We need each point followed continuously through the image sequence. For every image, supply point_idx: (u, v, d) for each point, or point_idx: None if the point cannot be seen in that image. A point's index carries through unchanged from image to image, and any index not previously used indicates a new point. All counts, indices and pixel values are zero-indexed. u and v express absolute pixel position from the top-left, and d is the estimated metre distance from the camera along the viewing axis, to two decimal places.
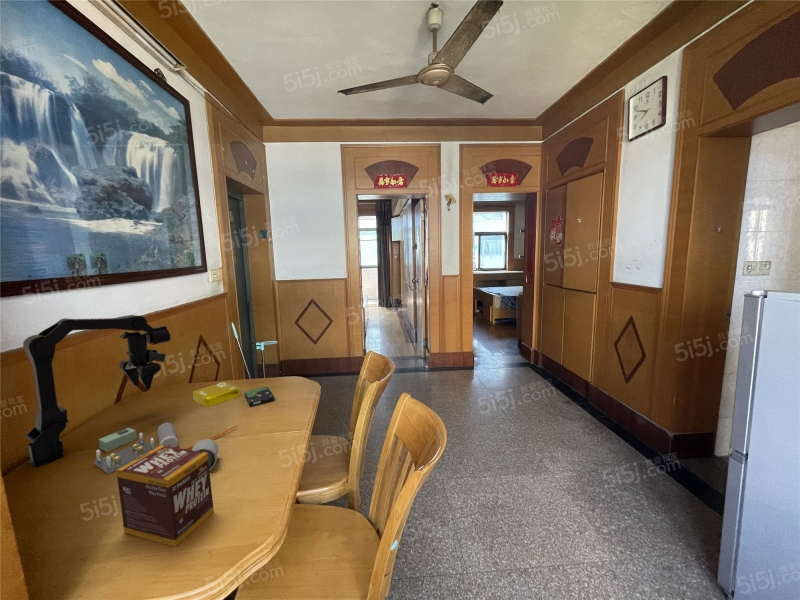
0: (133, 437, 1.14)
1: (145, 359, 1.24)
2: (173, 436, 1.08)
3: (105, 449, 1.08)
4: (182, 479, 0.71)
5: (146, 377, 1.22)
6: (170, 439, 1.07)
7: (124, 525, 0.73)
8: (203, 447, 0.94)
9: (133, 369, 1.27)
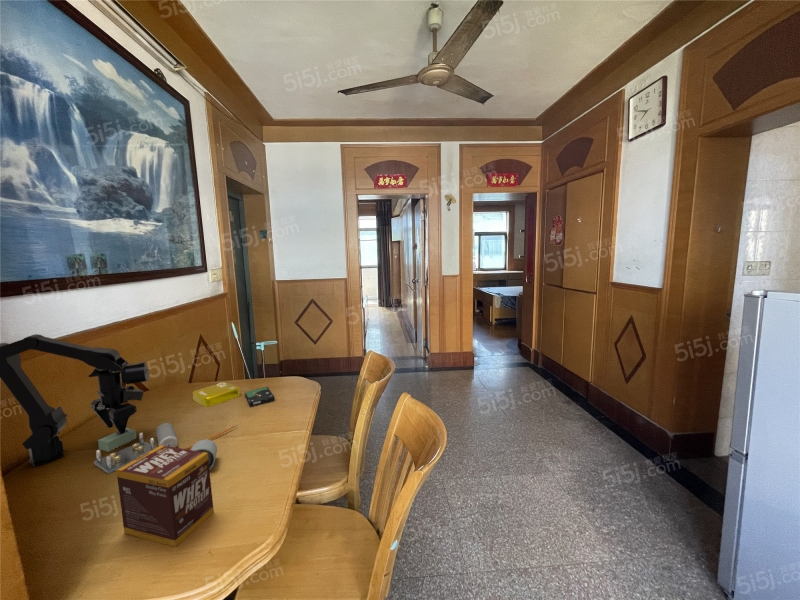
0: (133, 436, 1.14)
1: (118, 399, 1.10)
2: (173, 436, 1.08)
3: (106, 449, 1.08)
4: (182, 479, 0.71)
5: (119, 420, 1.08)
6: (170, 439, 1.07)
7: (124, 525, 0.73)
8: (202, 447, 0.94)
9: (106, 409, 1.13)
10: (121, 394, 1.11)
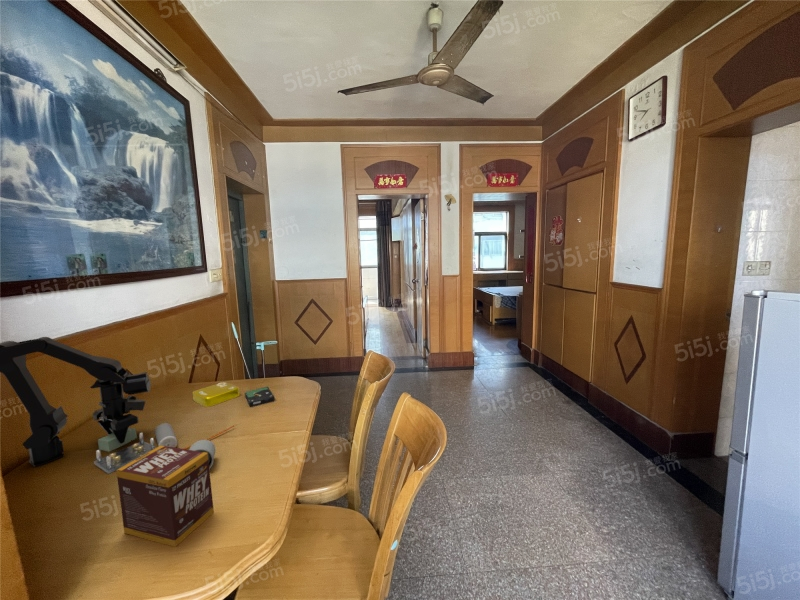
0: (133, 435, 1.14)
1: (120, 410, 1.10)
2: (172, 436, 1.08)
3: (107, 448, 1.08)
4: (182, 479, 0.71)
5: (119, 430, 1.09)
6: (169, 439, 1.07)
7: (124, 525, 0.73)
8: (200, 448, 0.94)
9: (110, 421, 1.13)
10: (123, 405, 1.11)
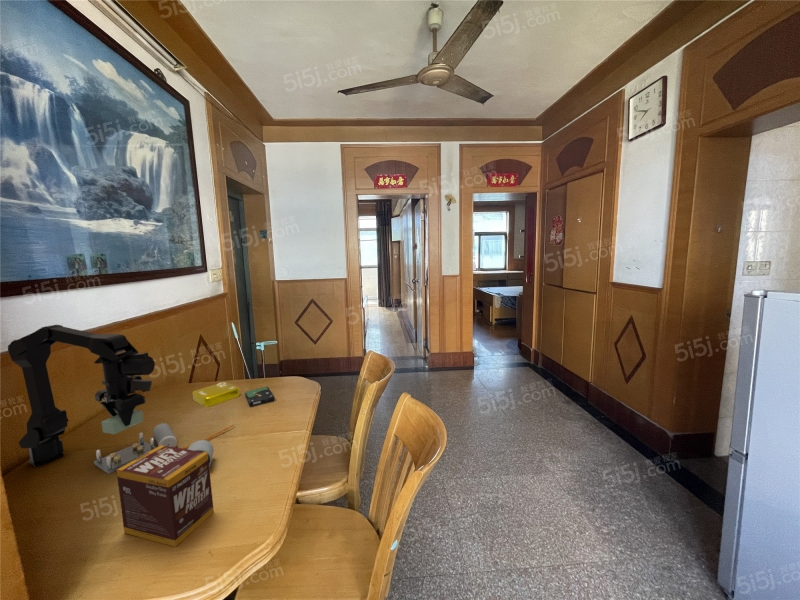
0: (140, 418, 1.05)
1: (125, 390, 1.01)
2: (172, 436, 1.08)
3: (111, 431, 0.98)
4: (182, 479, 0.71)
5: (124, 411, 1.00)
6: (169, 439, 1.07)
7: (124, 525, 0.73)
8: (198, 448, 0.94)
9: (114, 402, 1.03)
10: (128, 384, 1.02)
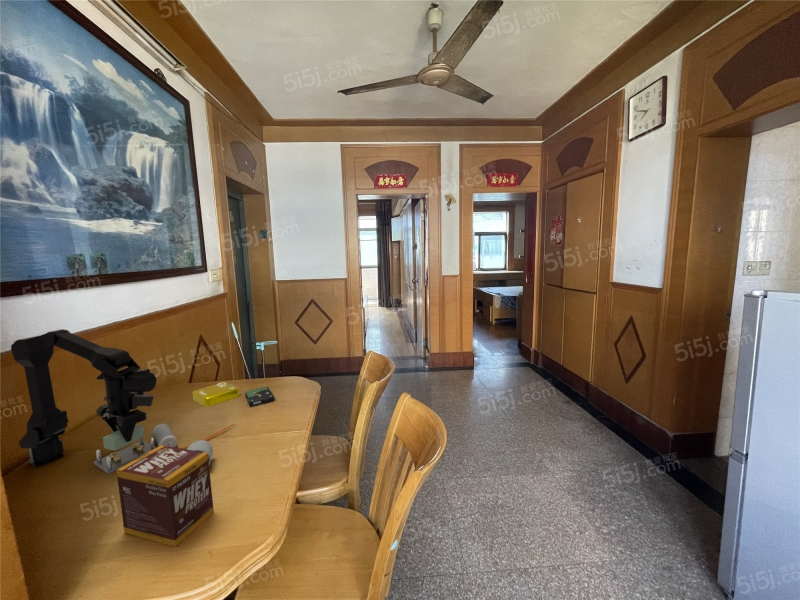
0: (141, 433, 1.05)
1: (127, 406, 1.01)
2: (172, 436, 1.08)
3: (112, 447, 0.99)
4: (182, 479, 0.71)
5: (126, 427, 1.00)
6: (169, 439, 1.07)
7: (124, 525, 0.73)
8: (197, 448, 0.94)
9: (116, 417, 1.04)
10: (130, 400, 1.02)
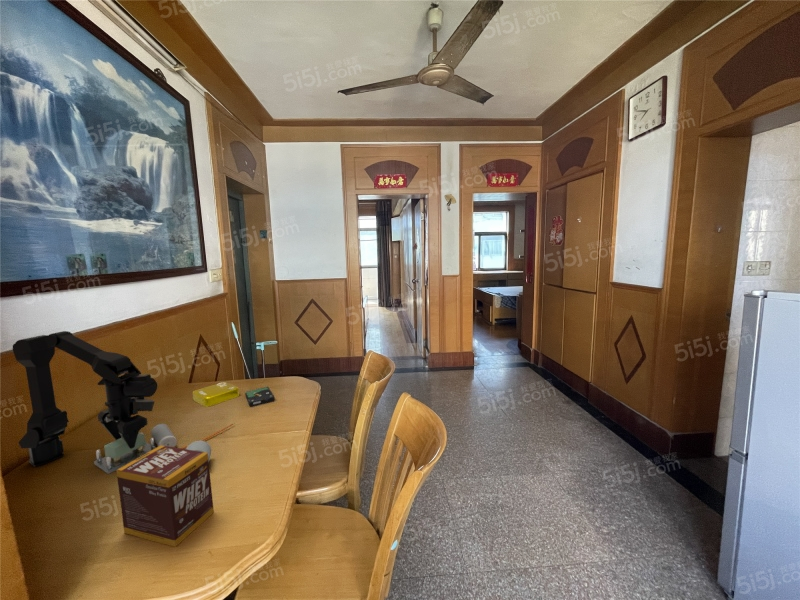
0: (142, 441, 1.06)
1: (128, 411, 1.01)
2: (171, 435, 1.08)
3: (113, 456, 0.99)
4: (182, 479, 0.71)
5: (129, 434, 0.99)
6: (169, 438, 1.07)
7: (124, 525, 0.73)
8: (195, 449, 0.94)
9: (114, 421, 1.05)
10: (130, 405, 1.02)
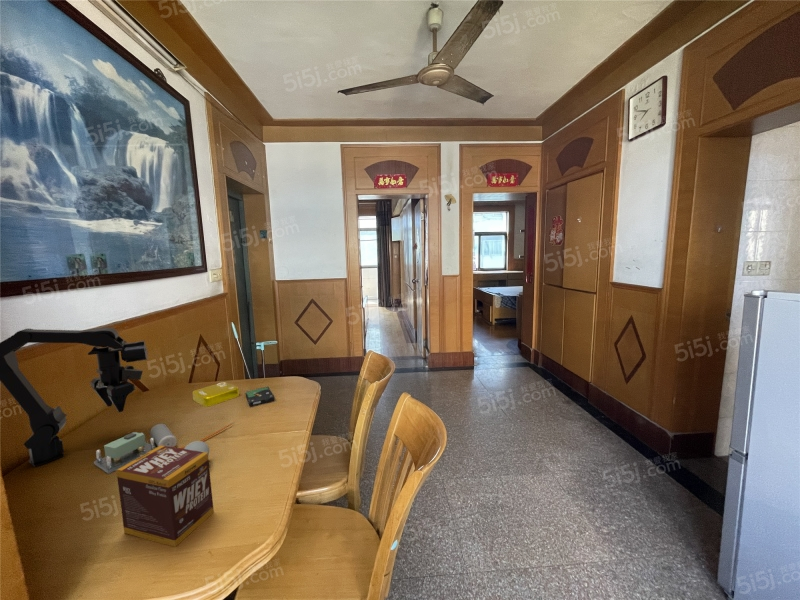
0: (142, 441, 1.06)
1: (117, 378, 1.10)
2: (171, 435, 1.08)
3: (113, 456, 0.99)
4: (182, 479, 0.71)
5: (118, 398, 1.08)
6: (169, 438, 1.07)
7: (124, 525, 0.73)
8: (193, 449, 0.94)
9: (106, 388, 1.14)
10: (120, 373, 1.11)
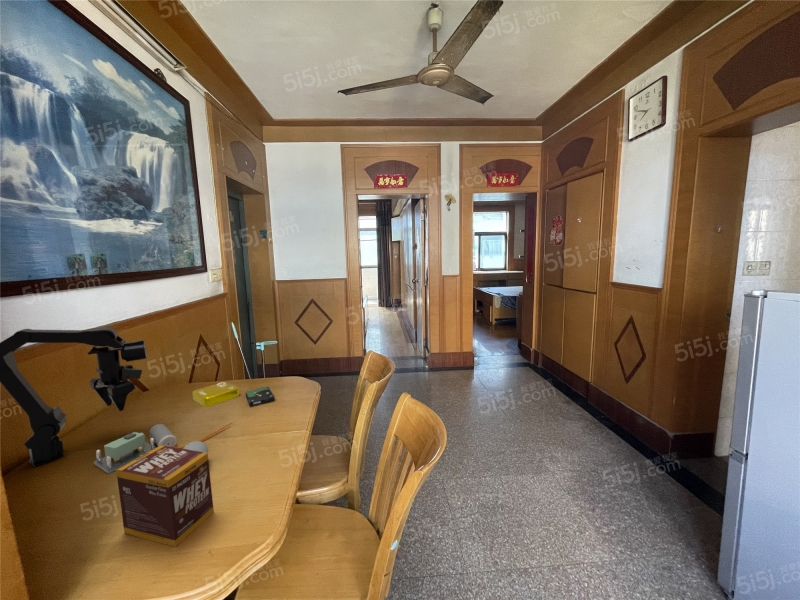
0: (142, 441, 1.06)
1: (117, 377, 1.11)
2: (172, 435, 1.09)
3: (113, 456, 0.99)
4: (182, 479, 0.71)
5: (118, 397, 1.09)
6: (169, 438, 1.07)
7: (124, 525, 0.73)
8: (192, 449, 0.93)
9: (105, 387, 1.14)
10: (120, 372, 1.12)
